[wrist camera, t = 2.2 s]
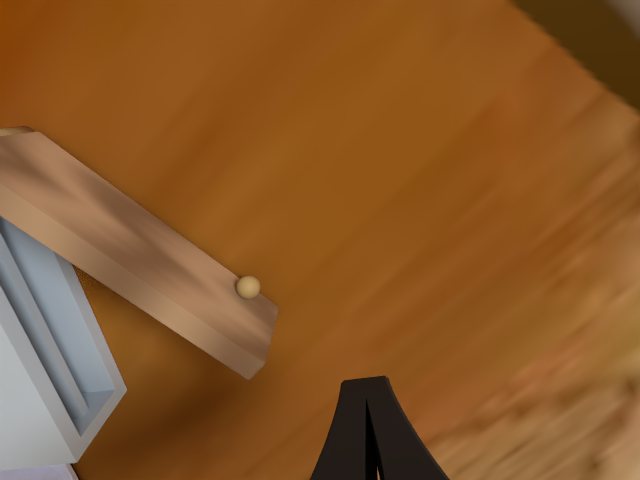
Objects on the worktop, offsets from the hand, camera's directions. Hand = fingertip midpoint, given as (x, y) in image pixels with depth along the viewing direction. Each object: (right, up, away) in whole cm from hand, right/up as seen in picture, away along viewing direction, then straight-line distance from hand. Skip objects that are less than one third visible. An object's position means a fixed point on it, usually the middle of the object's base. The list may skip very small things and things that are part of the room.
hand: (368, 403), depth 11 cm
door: (-10, +6, +8) cm, 14 cm away
